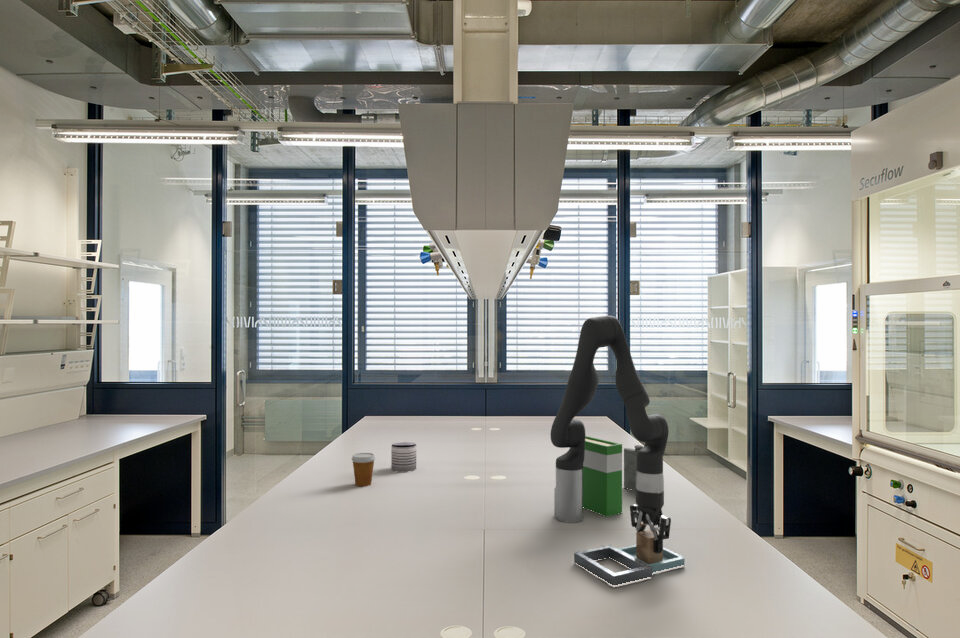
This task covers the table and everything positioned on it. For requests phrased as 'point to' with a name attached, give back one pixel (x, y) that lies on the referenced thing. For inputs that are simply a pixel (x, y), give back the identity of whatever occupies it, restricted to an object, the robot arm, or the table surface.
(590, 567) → the holder
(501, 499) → the table surface
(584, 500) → the hardback book
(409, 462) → the can
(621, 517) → the table surface
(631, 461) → the flask
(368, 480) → the disposable coffee cup
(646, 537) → the walnut block
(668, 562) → the tray
